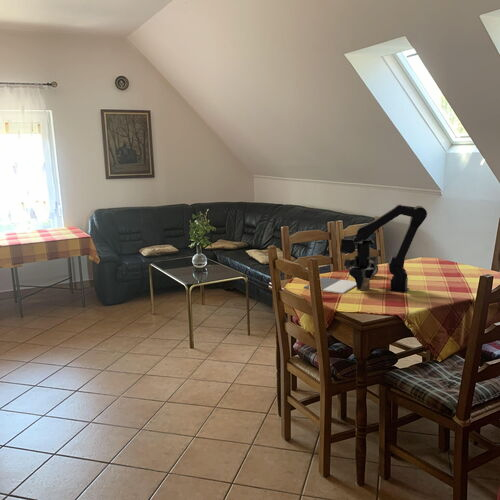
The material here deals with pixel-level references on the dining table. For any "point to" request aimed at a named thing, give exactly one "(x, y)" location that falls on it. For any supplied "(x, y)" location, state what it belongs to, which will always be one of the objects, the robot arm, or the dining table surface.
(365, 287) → the brown cylinder
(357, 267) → the tin
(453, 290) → the dining table surface
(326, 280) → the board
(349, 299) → the dining table surface
